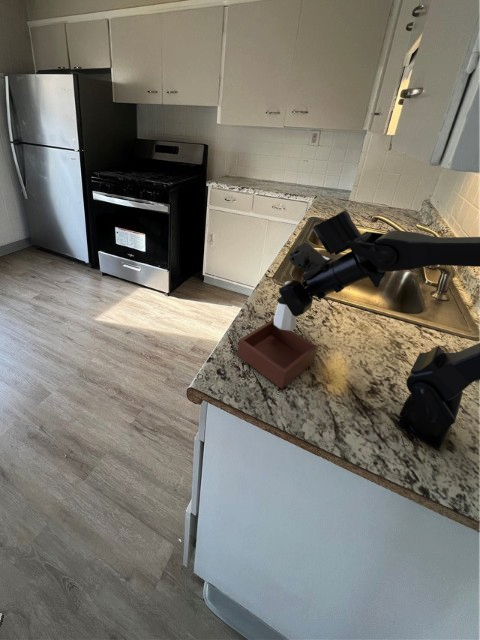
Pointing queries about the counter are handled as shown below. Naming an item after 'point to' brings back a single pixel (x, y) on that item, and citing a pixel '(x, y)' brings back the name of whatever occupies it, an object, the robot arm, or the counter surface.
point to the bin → (277, 353)
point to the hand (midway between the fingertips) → (283, 298)
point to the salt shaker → (284, 317)
